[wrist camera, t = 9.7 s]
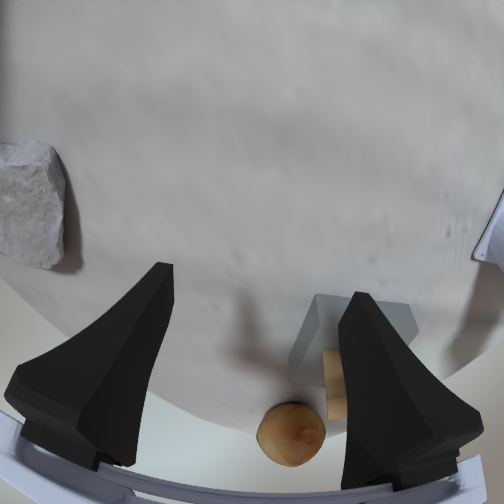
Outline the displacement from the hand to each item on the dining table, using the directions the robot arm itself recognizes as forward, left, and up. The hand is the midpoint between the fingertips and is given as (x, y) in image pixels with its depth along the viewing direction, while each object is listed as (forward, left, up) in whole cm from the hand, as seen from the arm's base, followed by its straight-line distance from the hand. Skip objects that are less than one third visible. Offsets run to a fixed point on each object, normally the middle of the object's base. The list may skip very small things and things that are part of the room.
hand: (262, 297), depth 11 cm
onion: (-10, +33, -11) cm, 36 cm away
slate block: (-11, +14, -11) cm, 21 cm away
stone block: (+21, +4, -11) cm, 24 cm away
